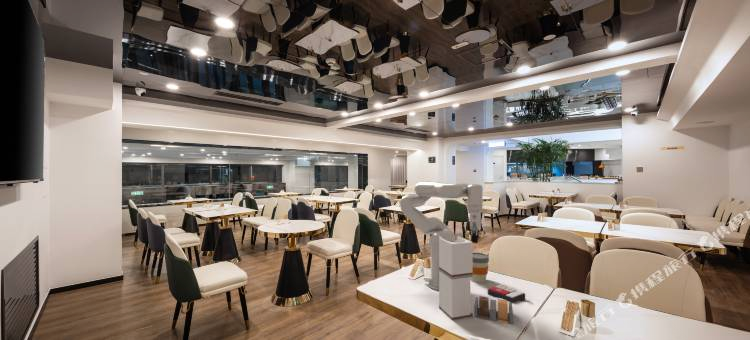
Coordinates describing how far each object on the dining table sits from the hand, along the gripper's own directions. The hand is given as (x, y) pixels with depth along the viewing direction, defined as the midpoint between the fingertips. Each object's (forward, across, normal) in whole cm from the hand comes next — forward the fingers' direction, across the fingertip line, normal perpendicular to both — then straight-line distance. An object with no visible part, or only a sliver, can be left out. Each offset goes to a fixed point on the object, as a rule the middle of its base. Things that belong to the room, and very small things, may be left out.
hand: (474, 240), depth 155 cm
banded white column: (+31, -22, +7) cm, 38 cm away
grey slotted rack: (+30, -18, -9) cm, 36 cm away
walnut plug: (+29, -18, -5) cm, 35 cm away
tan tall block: (+29, -18, -13) cm, 37 cm away
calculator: (+31, +7, -15) cm, 35 cm away
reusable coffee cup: (+31, +26, 0) cm, 40 cm away
